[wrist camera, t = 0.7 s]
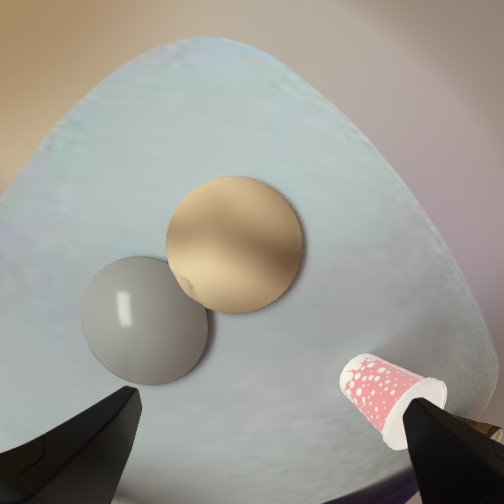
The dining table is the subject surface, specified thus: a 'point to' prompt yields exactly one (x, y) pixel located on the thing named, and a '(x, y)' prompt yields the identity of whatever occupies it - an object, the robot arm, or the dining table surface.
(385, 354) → the dining table surface
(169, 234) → the shiny gold rounded object
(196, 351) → the grey dome cap
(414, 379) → the beverage cup
